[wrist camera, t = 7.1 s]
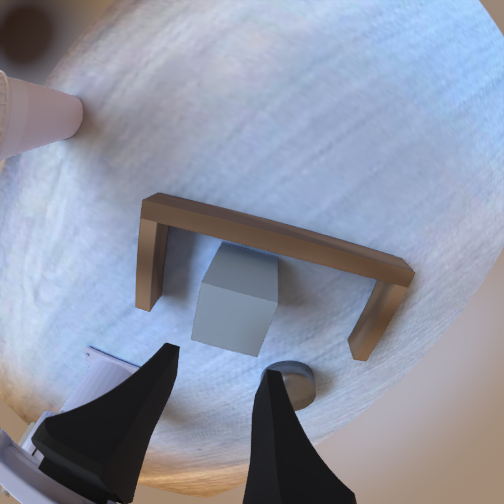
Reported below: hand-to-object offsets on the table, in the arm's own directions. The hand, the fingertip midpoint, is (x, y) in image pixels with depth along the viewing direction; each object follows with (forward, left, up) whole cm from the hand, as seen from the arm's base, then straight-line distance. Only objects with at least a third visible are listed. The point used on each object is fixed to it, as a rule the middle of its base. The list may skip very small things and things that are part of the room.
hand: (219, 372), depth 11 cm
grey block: (0, 0, -10) cm, 10 cm away
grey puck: (-10, -6, -10) cm, 15 cm away
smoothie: (+9, +17, -10) cm, 22 cm away
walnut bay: (0, -2, -9) cm, 10 cm away
